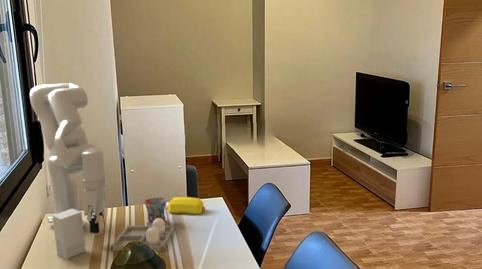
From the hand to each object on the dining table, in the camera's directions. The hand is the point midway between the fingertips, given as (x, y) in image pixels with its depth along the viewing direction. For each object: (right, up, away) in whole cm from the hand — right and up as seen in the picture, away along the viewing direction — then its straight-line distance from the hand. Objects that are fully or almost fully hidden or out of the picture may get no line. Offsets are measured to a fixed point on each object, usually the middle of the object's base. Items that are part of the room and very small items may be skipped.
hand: (97, 228), depth 172 cm
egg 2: (+21, -4, +9) cm, 24 cm away
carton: (+17, -6, +5) cm, 18 cm away
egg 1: (0, -1, 0) cm, 1 cm away
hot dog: (+29, 0, +35) cm, 45 cm away
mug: (+19, -3, +22) cm, 29 cm away
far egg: (+21, -6, 0) cm, 22 cm away
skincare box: (-8, -8, -4) cm, 12 cm away
